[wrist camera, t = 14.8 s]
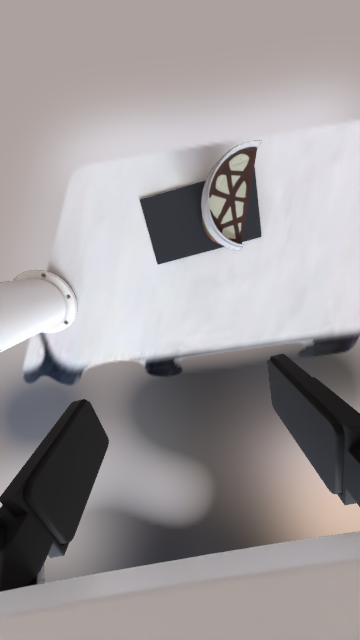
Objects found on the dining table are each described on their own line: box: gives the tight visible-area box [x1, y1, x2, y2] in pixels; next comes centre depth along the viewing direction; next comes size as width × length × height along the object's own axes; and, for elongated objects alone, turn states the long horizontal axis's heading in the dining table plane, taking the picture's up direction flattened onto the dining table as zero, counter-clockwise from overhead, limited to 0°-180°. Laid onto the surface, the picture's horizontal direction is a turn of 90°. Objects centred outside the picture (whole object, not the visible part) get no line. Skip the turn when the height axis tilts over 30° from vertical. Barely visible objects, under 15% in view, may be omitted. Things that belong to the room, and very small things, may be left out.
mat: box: [140, 168, 261, 264], centre depth 32 cm, size 20×11×1 cm, turn 104°
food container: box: [201, 140, 262, 251], centre depth 27 cm, size 12×6×10 cm, turn 176°
